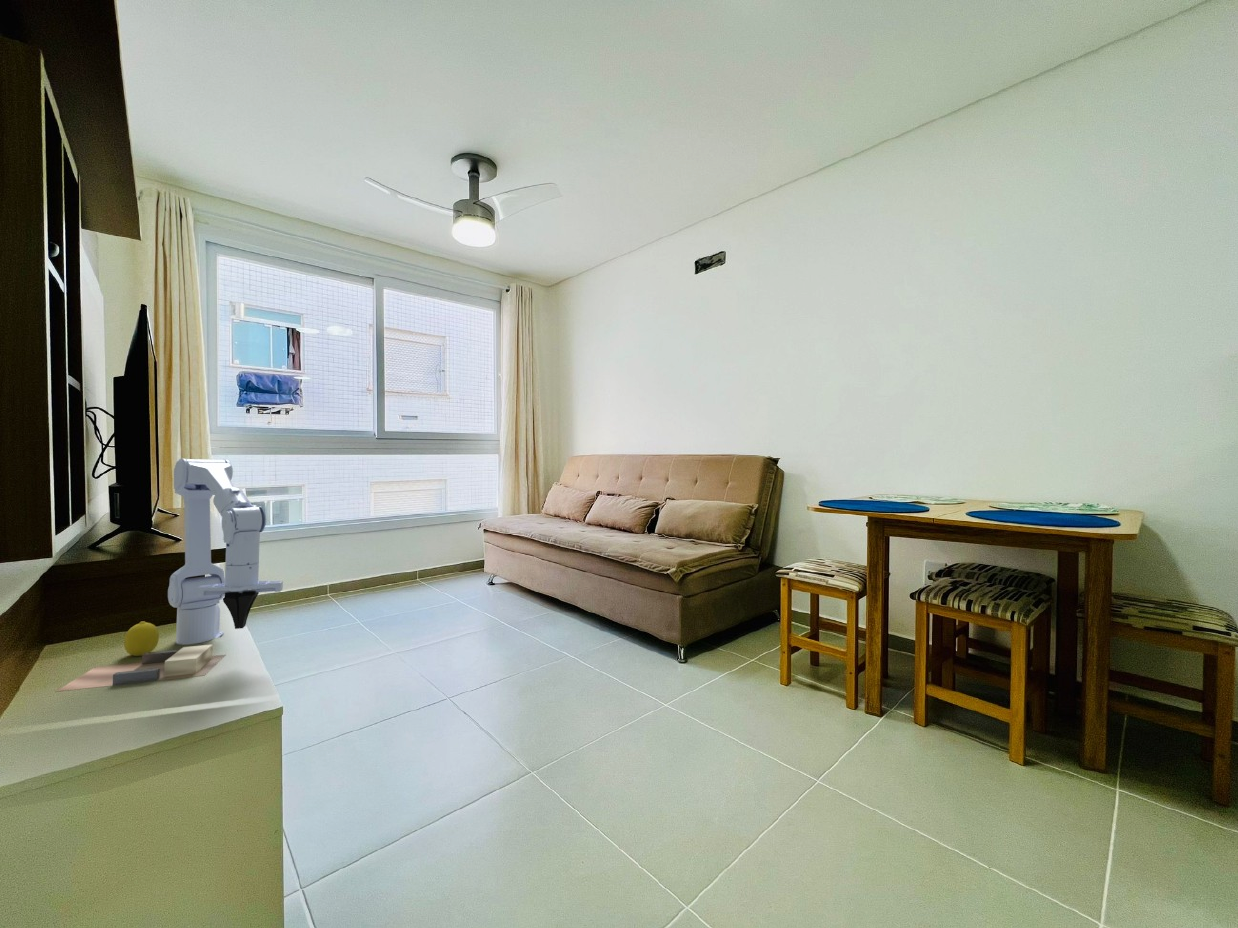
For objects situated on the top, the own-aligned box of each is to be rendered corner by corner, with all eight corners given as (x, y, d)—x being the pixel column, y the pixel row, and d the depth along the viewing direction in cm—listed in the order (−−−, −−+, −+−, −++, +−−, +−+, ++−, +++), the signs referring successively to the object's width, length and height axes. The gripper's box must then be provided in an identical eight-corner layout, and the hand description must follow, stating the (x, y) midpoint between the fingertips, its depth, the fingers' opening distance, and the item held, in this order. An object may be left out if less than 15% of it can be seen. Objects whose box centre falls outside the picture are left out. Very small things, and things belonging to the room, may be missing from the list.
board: (94, 671, 102) (94, 667, 102) (226, 658, 110) (226, 654, 110) (54, 695, 91) (55, 691, 91) (204, 679, 99) (204, 675, 99)
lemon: (136, 663, 106) (137, 626, 106) (116, 661, 107) (117, 623, 107) (165, 654, 111) (166, 618, 111) (145, 652, 112) (146, 616, 112)
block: (183, 661, 106) (183, 647, 106) (212, 658, 108) (212, 644, 108) (164, 676, 98) (164, 661, 98) (195, 673, 100) (196, 658, 100)
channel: (144, 662, 105) (145, 652, 105) (183, 658, 107) (184, 649, 107) (112, 685, 94) (112, 674, 94) (156, 680, 96) (156, 670, 96)
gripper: (192, 568, 100) (189, 636, 100) (277, 564, 105) (275, 629, 105) (206, 562, 106) (203, 626, 106) (285, 559, 112) (283, 619, 112)
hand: (240, 627), depth 106 cm, fingers closed
